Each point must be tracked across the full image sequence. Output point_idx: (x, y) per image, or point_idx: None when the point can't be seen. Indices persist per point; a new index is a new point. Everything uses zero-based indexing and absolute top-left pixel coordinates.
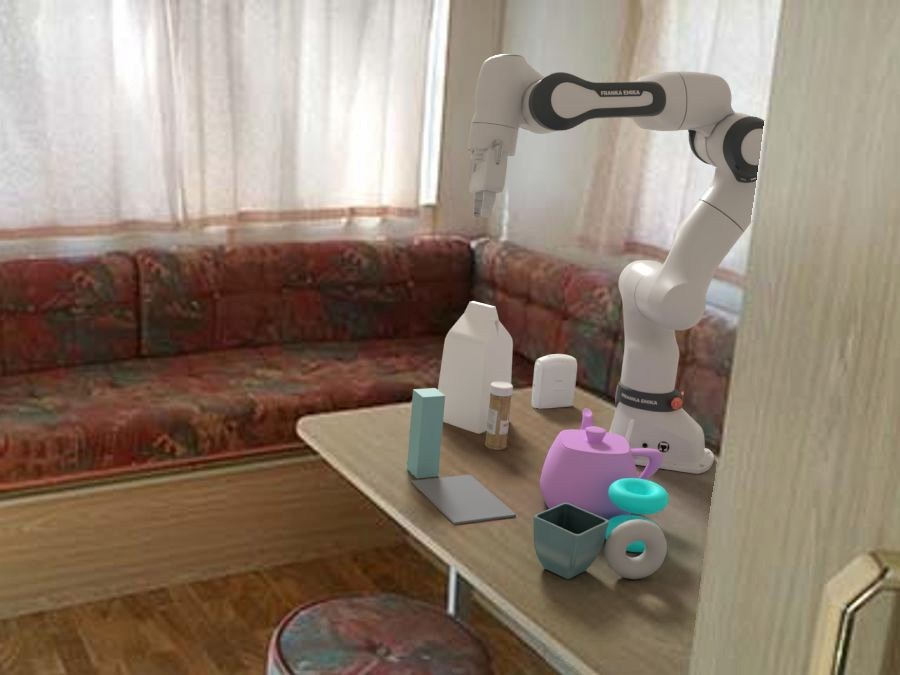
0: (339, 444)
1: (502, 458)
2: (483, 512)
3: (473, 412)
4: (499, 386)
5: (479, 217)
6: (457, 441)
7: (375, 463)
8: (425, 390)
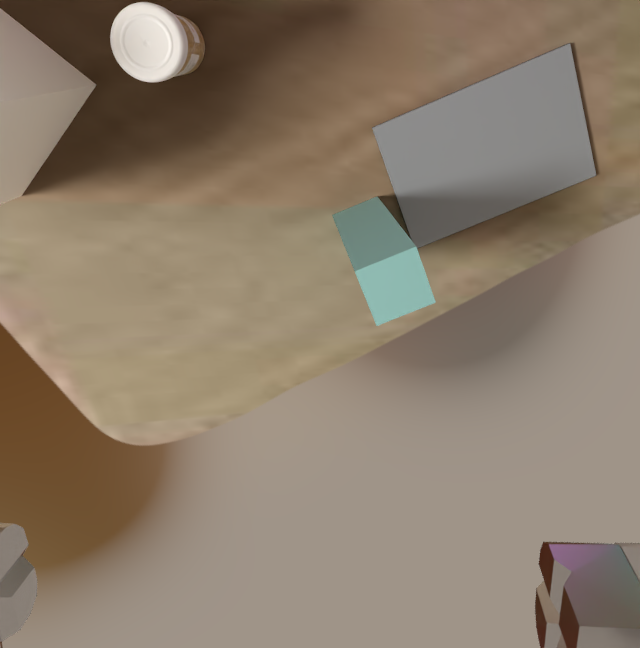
0: (242, 381)
1: (252, 36)
2: (558, 114)
3: (66, 105)
4: (173, 54)
5: (25, 549)
6: (165, 143)
7: (327, 315)
8: (380, 296)
